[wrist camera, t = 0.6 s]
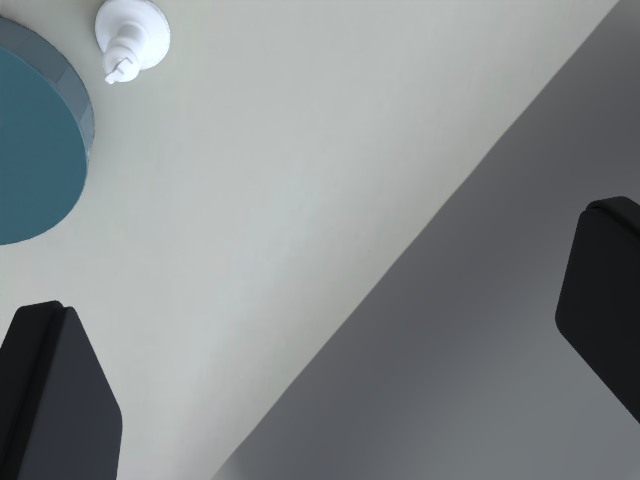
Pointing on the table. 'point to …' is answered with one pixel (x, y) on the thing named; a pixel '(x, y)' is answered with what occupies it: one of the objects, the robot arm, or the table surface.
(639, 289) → the robot arm
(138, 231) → the table surface
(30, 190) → the bowl lid
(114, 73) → the chess piece
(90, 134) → the bowl
